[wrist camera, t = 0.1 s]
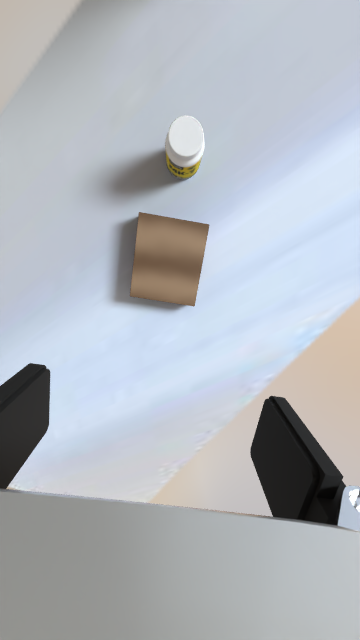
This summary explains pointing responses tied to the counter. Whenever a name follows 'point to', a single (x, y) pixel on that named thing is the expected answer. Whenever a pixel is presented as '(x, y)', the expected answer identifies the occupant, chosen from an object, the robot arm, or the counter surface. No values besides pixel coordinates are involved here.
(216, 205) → the counter surface
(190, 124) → the supplement bottle
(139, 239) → the walnut base
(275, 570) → the robot arm
